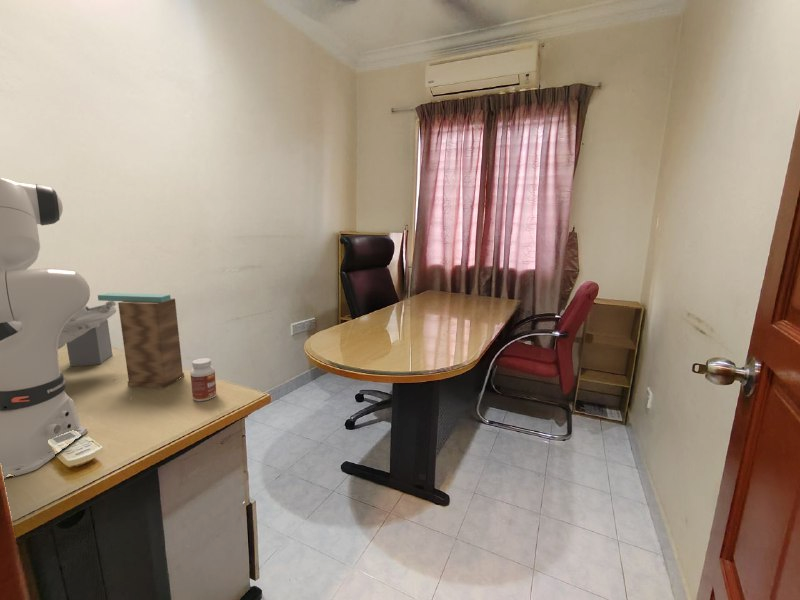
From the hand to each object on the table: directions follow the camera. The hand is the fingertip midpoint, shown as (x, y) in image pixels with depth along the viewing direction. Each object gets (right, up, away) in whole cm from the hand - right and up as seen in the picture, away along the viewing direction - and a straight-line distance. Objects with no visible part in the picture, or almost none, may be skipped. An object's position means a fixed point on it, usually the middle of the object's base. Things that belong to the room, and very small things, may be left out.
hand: (100, 305), depth 114 cm
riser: (-19, -20, +20) cm, 34 cm away
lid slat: (+11, +2, -1) cm, 12 cm away
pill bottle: (+36, -27, -7) cm, 45 cm away
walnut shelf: (+15, -24, +4) cm, 29 cm away
